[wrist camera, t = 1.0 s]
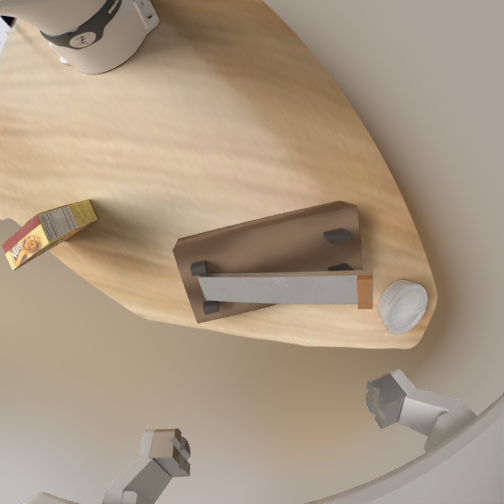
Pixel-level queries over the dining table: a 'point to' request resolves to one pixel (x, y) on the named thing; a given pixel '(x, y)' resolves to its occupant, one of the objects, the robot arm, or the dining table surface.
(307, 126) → the dining table surface
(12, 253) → the candy box
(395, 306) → the ramekin
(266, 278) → the clamp bar
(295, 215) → the base
